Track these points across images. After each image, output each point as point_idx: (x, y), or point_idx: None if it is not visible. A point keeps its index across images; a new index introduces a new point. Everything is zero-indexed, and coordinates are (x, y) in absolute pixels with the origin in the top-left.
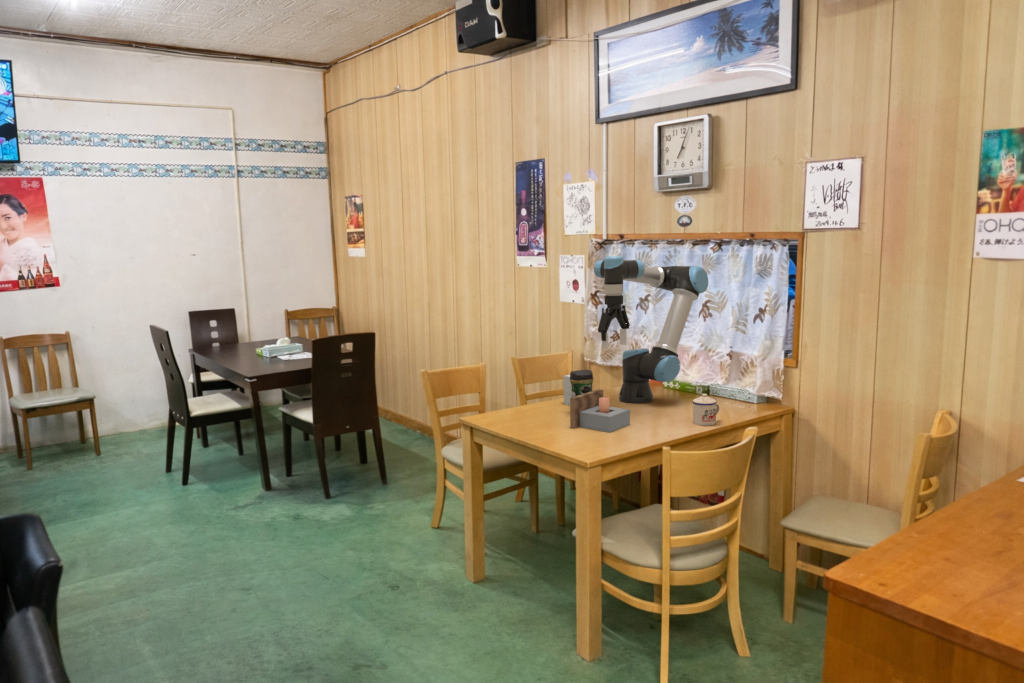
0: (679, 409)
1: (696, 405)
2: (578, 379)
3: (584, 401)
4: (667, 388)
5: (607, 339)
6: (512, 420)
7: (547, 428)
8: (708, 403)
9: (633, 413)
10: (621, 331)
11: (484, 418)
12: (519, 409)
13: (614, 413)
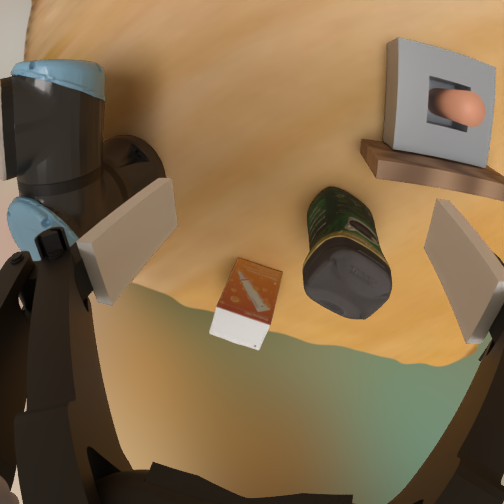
0: (146, 29)
1: None
2: (389, 268)
3: (474, 172)
4: None
5: (480, 240)
6: (449, 309)
7: (491, 220)
8: None
9: (258, 94)
10: (119, 272)
11: (443, 349)
12: (361, 342)
13: (462, 66)
